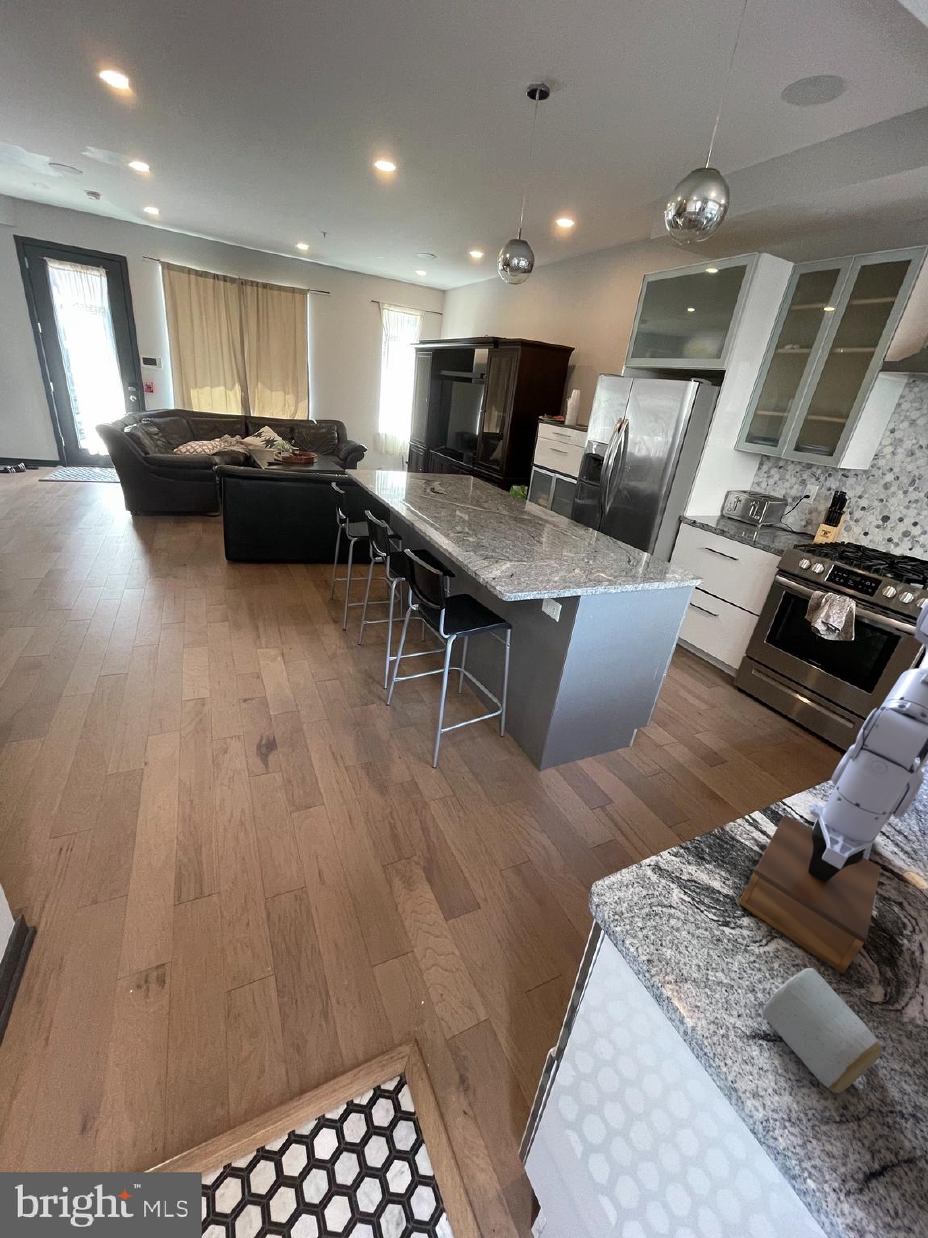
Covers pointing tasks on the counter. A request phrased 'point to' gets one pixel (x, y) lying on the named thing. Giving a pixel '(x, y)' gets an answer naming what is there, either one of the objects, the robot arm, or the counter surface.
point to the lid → (835, 899)
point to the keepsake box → (800, 923)
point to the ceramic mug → (822, 1030)
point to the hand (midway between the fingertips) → (817, 875)
